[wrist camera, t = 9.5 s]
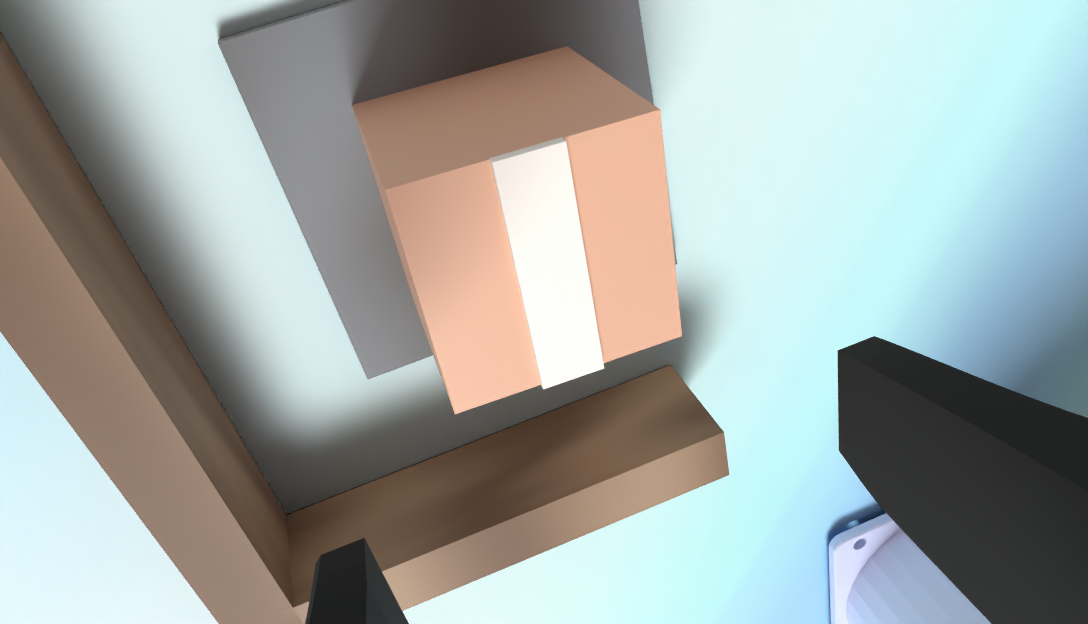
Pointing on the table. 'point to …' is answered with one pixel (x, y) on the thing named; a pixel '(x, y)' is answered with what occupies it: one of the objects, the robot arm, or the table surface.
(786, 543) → the table surface
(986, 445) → the robot arm
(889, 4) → the table surface
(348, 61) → the corner arena
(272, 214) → the table surface
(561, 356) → the terracotta cube
